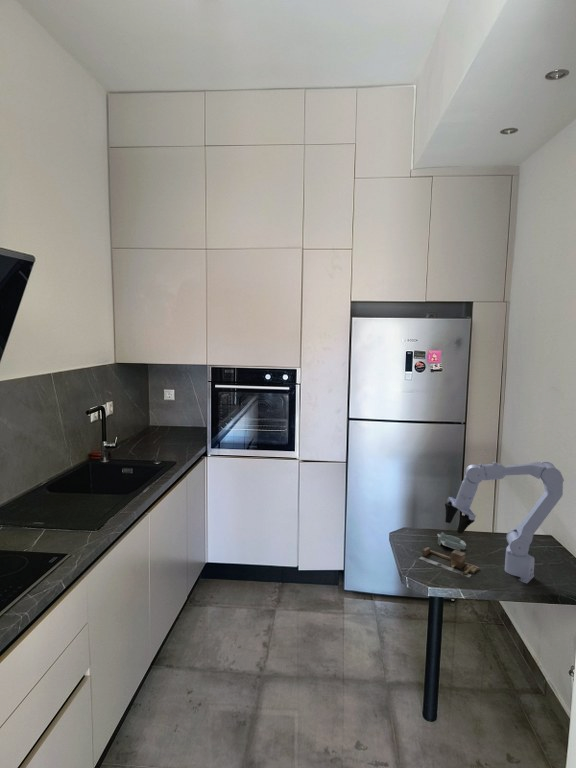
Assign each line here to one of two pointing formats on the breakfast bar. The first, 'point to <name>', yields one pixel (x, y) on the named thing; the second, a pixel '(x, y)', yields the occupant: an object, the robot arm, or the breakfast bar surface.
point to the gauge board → (467, 569)
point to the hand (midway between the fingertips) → (453, 527)
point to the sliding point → (457, 559)
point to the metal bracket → (451, 541)
